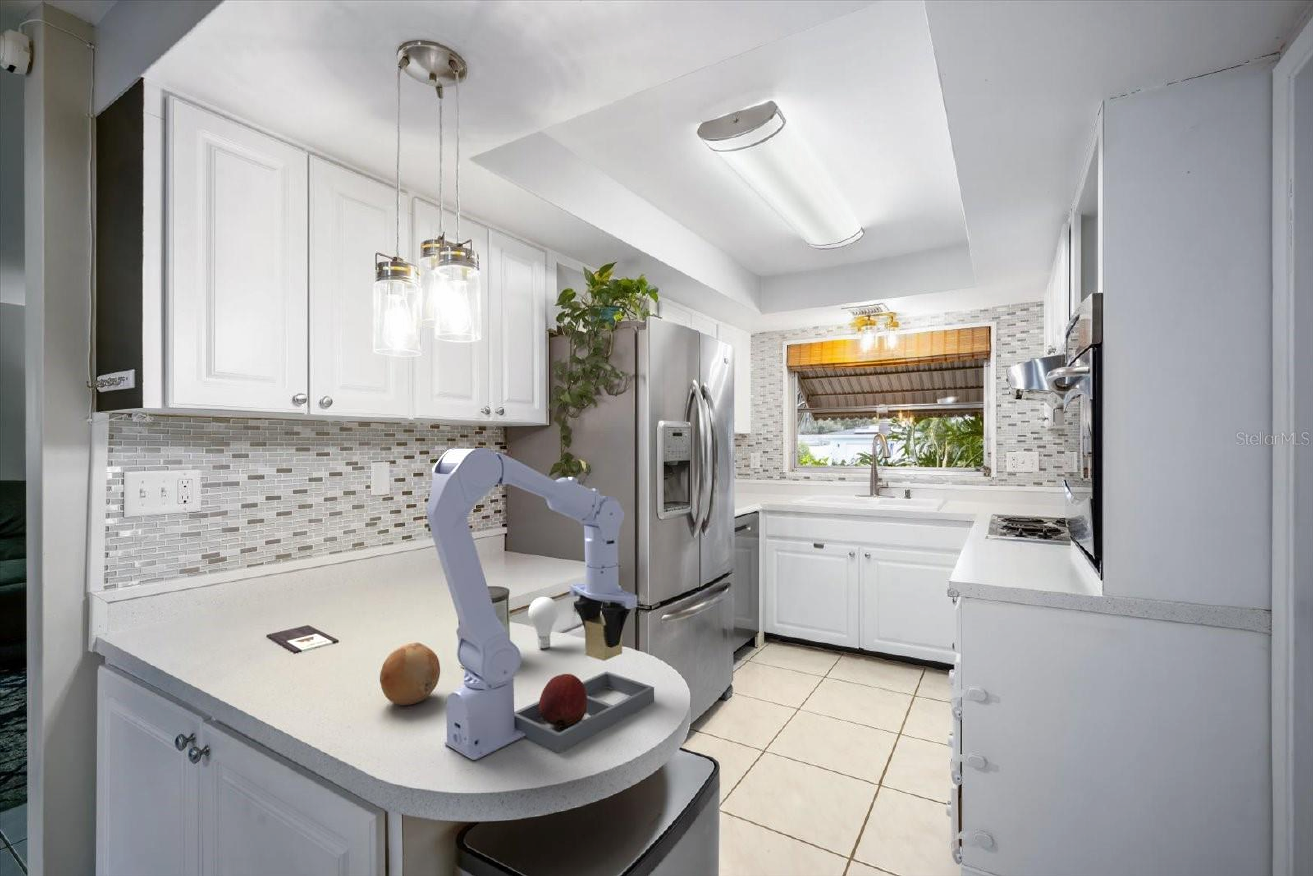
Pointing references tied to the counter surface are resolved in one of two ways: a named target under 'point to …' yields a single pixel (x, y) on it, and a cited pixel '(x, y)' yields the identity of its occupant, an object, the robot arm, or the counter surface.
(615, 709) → the grey divided tray
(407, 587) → the counter surface
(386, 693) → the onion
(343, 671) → the counter surface
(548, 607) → the lightbulb
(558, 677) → the apple
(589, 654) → the wooden block
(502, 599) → the coffee can
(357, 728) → the counter surface
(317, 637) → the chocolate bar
